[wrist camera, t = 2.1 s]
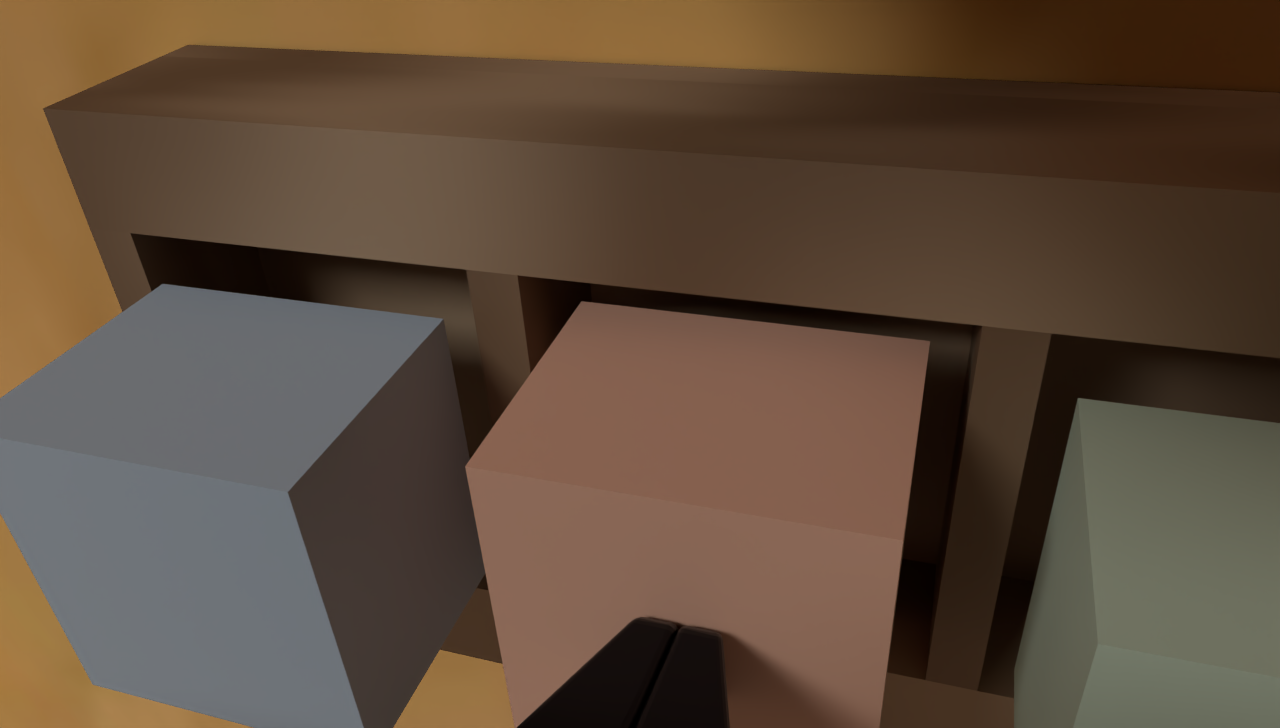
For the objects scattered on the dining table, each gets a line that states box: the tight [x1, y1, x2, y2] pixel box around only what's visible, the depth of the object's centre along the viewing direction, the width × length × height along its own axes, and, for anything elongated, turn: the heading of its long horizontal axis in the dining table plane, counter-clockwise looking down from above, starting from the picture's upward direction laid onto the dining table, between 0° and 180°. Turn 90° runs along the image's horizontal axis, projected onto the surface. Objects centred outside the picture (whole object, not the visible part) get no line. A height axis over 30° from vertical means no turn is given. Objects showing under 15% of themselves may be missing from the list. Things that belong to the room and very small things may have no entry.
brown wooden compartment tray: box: [43, 45, 1280, 728], centre depth 12 cm, size 16×8×2 cm, turn 93°
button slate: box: [0, 284, 485, 728], centre depth 11 cm, size 4×4×3 cm
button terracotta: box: [465, 301, 930, 728], centre depth 11 cm, size 4×4×3 cm
